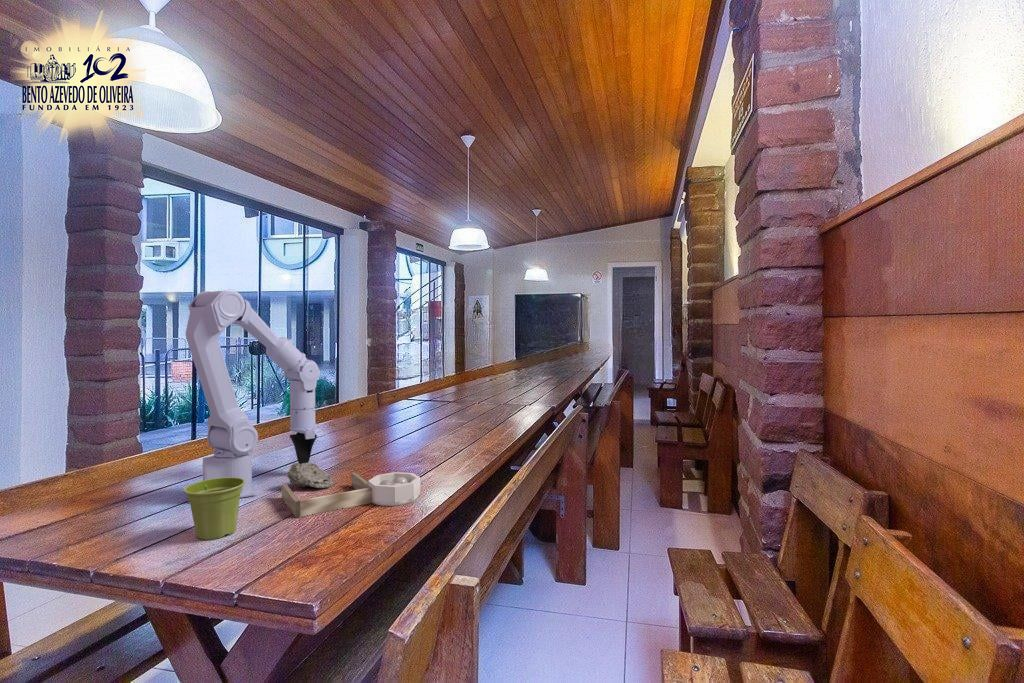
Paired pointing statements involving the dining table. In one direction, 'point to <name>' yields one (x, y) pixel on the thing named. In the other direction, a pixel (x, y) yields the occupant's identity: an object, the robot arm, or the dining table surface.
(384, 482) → the pebble
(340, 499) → the tray frame
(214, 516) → the plant pot
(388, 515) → the dining table surface
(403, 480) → the pebble
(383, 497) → the bowl
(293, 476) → the rock sample
